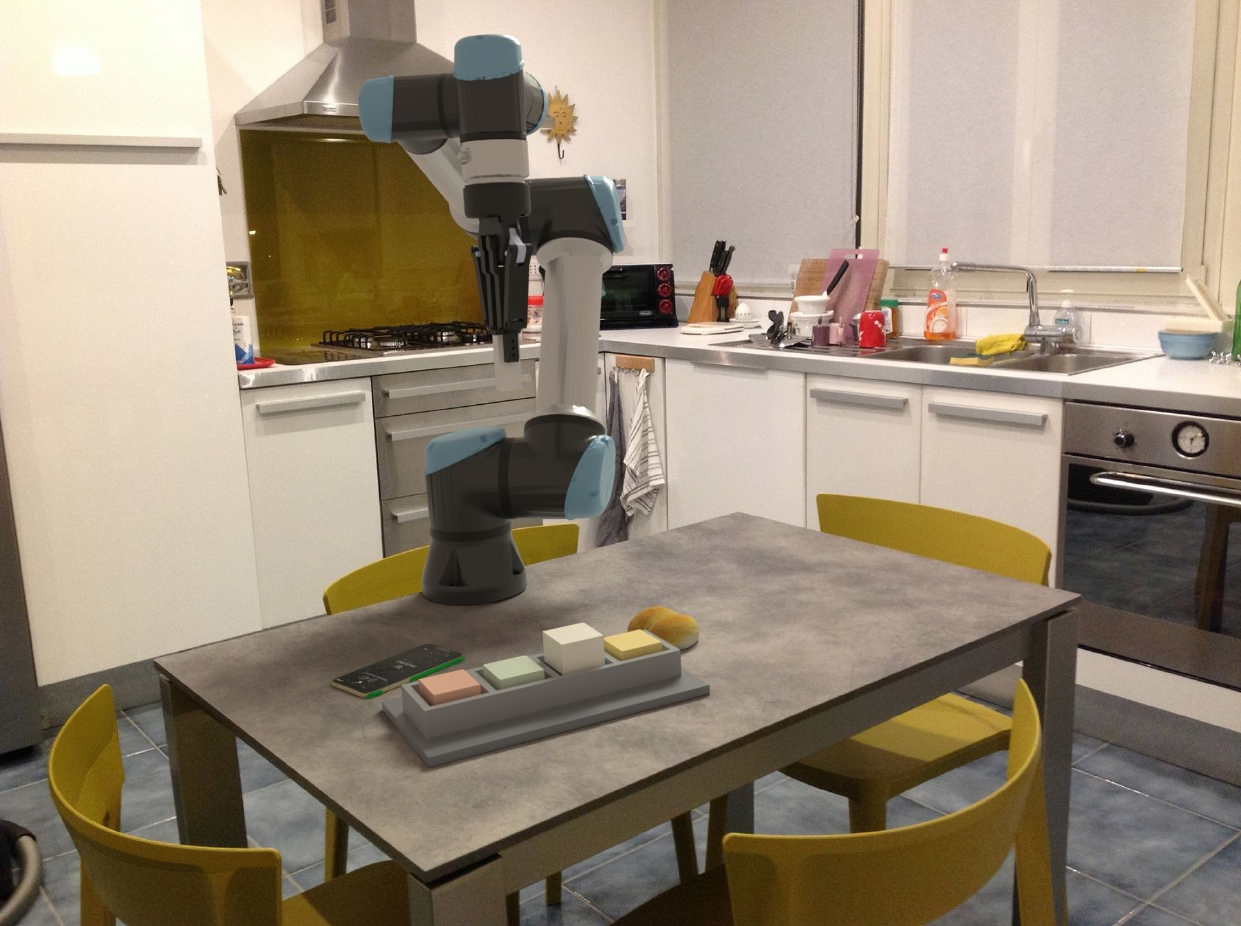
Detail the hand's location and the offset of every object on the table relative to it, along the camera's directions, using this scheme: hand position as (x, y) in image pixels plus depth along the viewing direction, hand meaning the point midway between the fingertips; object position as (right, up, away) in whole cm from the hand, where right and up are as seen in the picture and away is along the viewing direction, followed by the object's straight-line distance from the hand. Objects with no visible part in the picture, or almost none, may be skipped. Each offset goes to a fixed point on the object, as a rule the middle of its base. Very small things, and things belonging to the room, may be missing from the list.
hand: (509, 389), depth 132 cm
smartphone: (-13, -34, +2) cm, 36 cm away
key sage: (+2, -34, -10) cm, 35 cm away
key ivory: (+8, -31, -8) cm, 32 cm away
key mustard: (+14, -32, -4) cm, 35 cm away
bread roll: (+18, -31, +9) cm, 37 cm away
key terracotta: (-5, -35, -14) cm, 38 cm away
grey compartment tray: (+5, -35, -8) cm, 36 cm away
